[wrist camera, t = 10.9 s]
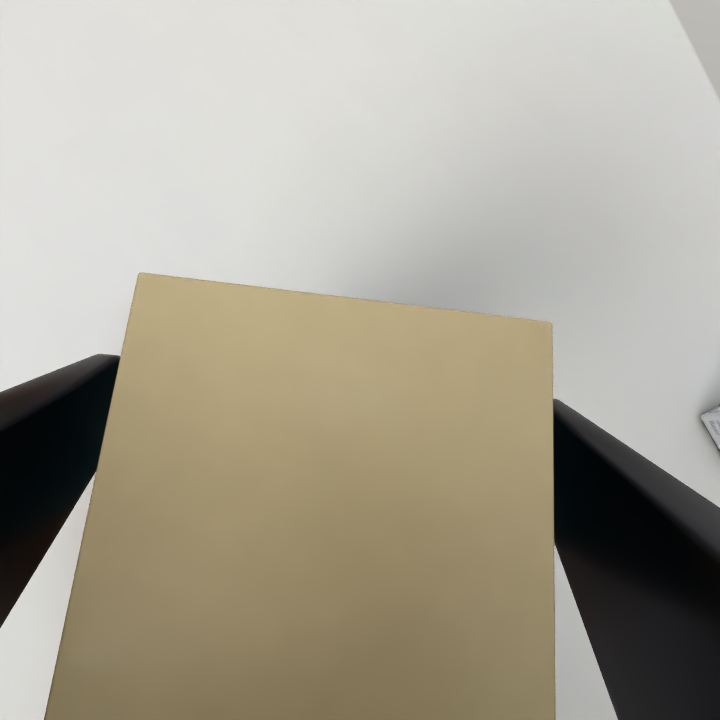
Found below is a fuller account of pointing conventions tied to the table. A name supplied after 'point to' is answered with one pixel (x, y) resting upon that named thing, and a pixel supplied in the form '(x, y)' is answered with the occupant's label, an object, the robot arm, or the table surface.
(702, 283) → the table surface
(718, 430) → the medicine box
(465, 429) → the toy carton
